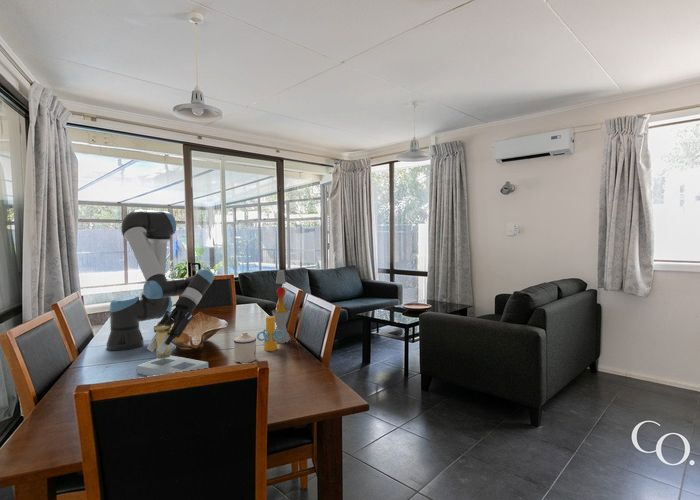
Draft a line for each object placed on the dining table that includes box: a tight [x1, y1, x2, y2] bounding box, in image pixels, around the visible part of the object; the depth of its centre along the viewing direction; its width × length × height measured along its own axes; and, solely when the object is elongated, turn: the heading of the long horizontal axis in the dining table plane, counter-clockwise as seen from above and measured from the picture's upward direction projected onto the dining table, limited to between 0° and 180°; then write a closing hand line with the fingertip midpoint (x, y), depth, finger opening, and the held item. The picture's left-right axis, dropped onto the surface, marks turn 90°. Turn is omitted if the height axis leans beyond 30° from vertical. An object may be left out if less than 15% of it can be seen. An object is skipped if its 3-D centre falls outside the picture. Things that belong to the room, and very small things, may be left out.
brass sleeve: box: [153, 324, 173, 359], centre depth 148 cm, size 6×6×12 cm
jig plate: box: [136, 354, 209, 377], centre depth 146 cm, size 22×14×3 cm, turn 65°
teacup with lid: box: [233, 331, 257, 364], centre depth 161 cm, size 12×9×12 cm
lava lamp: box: [271, 269, 291, 344], centre depth 188 cm, size 9×9×35 cm
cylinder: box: [256, 315, 284, 352], centre depth 174 cm, size 12×10×15 cm
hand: (154, 350), depth 144 cm, fingers closed on brass sleeve, 5 cm apart
